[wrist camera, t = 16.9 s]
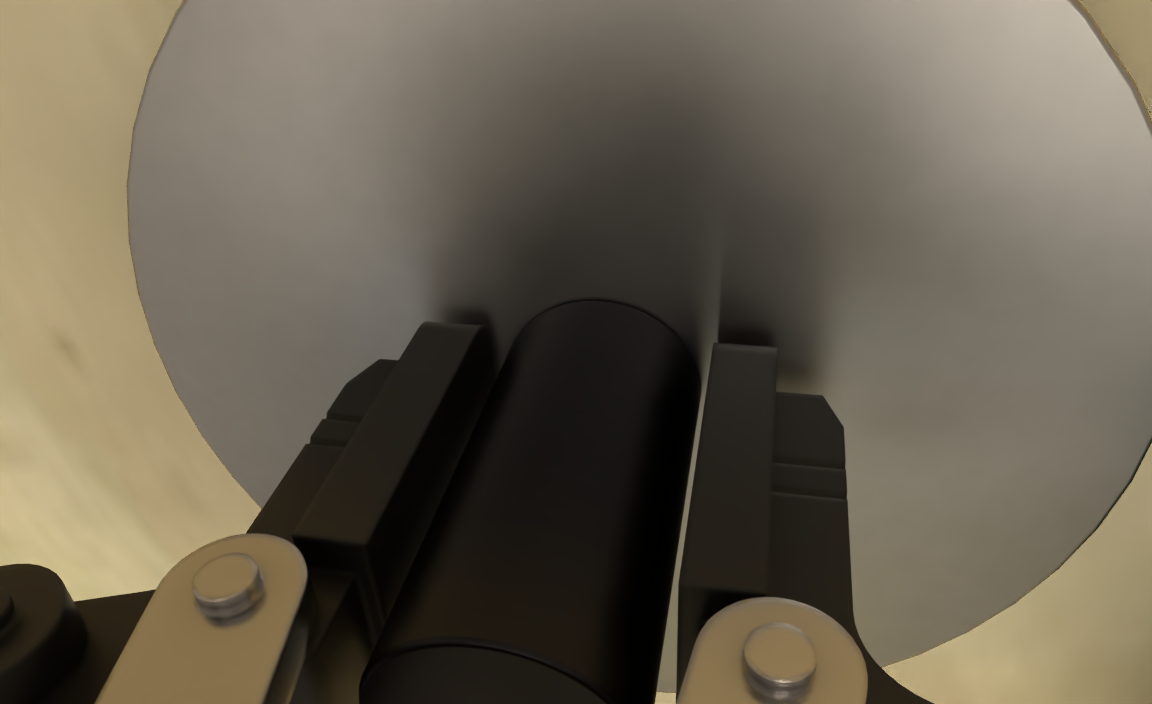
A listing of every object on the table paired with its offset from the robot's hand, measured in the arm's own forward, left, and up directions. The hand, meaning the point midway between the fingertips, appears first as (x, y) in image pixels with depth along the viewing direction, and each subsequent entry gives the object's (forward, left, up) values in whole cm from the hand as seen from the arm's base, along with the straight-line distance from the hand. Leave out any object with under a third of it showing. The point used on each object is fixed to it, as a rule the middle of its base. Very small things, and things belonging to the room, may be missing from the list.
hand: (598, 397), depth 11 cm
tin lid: (0, 0, -1) cm, 1 cm away
